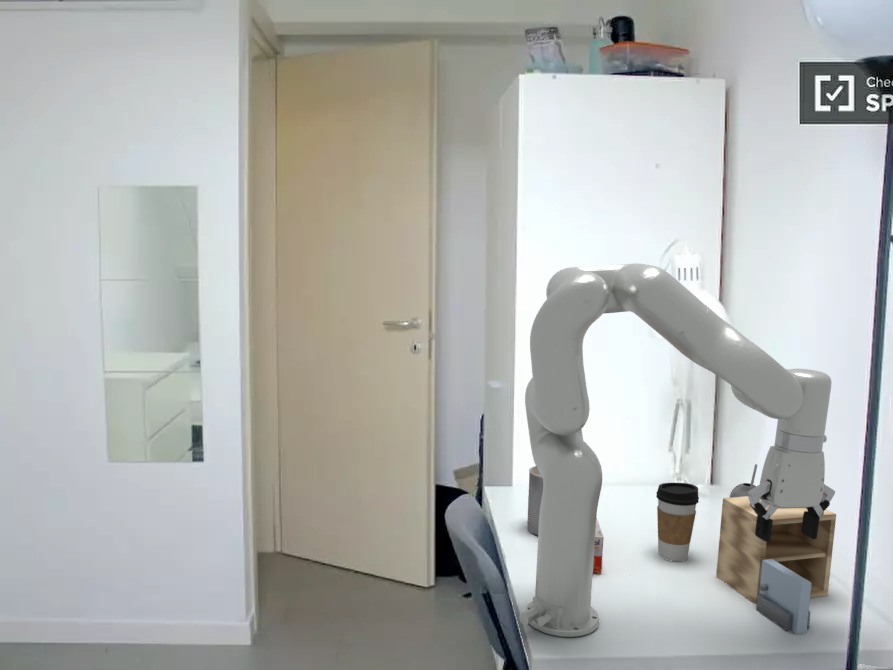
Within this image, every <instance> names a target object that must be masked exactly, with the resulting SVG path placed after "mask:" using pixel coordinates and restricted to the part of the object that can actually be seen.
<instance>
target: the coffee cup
mask: <svg viewBox="0 0 893 670" xmlns="http://www.w3.org/2000/svg"><path fill="white" fill-rule="evenodd" d="M655 496H656V499H657V507H656V509H657V510H656V511H657V513H656V515H657V538H658V539H657V541H658V542H657V551H658V552H657V553H658V556H659V557H660V558H661V557H662V558H661V559H663V558H664V560H666V559H667V560H666V561H669V560H672V561H671V562H683V561H682V560H685V561H686V560H687V559H688V557H689V551H690V545H691V541H692V535H693V530H694V526H695V519H696V514H697V510H696V508H697V504H698V503H699V499H700V497H699V487H697V486H696V485H695V484H692V483H689V482H687V483H686V482H663V483H660V484H659V485H658V488H657V491H656V495H655Z"/></svg>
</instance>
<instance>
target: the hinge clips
mask: <svg viewBox="0 0 893 670" xmlns="http://www.w3.org/2000/svg"><path fill="white" fill-rule="evenodd" d="M755 610H756V611H757V612H759V613H760V614H761V613H762V614H761V615H762V616H764V617H766V618H767V617H768V618H769V619H768V618H767V619H768V620H770V621H771V622H773V624H776V625H777V626H778V627H780V628H781V629H782V630H784V631H785V632H791V631H792V630H791V622H792V614H791V613H789V612H788V611H787V610H785V609H784V608H782V607H781V606H779V605H778V604H776V603H775V602H773V601H772V600H770V599H769V598H767V597H766V596H764V595H763V594H758V596H757V604H756V608H755ZM811 613H812V612H811V611H810V610H809V612H808V621H807V629H810V622H811Z"/></svg>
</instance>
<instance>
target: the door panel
mask: <svg viewBox="0 0 893 670" xmlns="http://www.w3.org/2000/svg"><path fill="white" fill-rule="evenodd" d="M810 592H811V582H809V581H808V580H806V579H804V578H803V577H801V576H799V575H798V574H796V573H795V572H793V571H791V570H790V569H788V568H786V567H785V566H783V565H781V564H780V563H778V562H776V561H775V560H773V559H766V560H762V571H761V581H760V592H759V594H763V595H764V596H766V597H767V598H769V599H770V600H772V601H773V602H775V603H776V604H778V605H779V606H781V607H782V608H784V609H785V610H787V611H788V612H789V613H791V614H792V622H791V631H792V632H794V633H795V634H797V635H798V634H803V633H807V621H808V612H809V611H810V600H811V598H810Z"/></svg>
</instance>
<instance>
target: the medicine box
mask: <svg viewBox="0 0 893 670" xmlns="http://www.w3.org/2000/svg"><path fill="white" fill-rule="evenodd" d="M604 538H605V537H604V533H603V531H602V528H601V526H600V523H599V521H598V517H597V516H596V528H595V546H594V561H593V574H594V573H597V574H596V575H602V567H603V551H604Z"/></svg>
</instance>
